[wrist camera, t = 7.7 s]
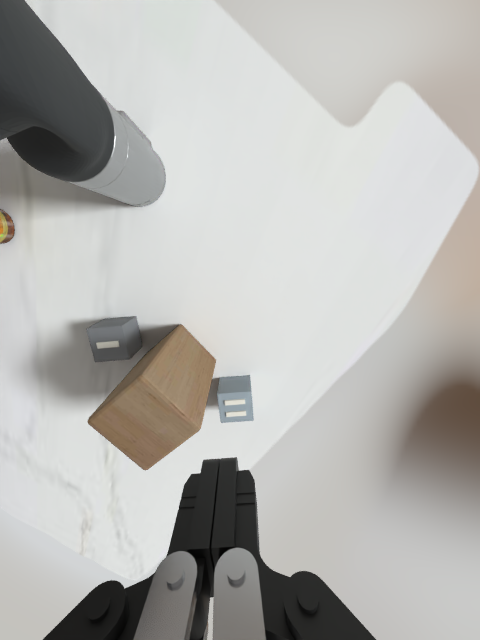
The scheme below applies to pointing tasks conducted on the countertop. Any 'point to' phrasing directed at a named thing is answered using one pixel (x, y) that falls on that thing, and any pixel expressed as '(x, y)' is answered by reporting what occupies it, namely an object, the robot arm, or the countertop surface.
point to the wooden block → (158, 400)
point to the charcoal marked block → (114, 339)
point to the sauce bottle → (6, 227)
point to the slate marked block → (235, 399)
